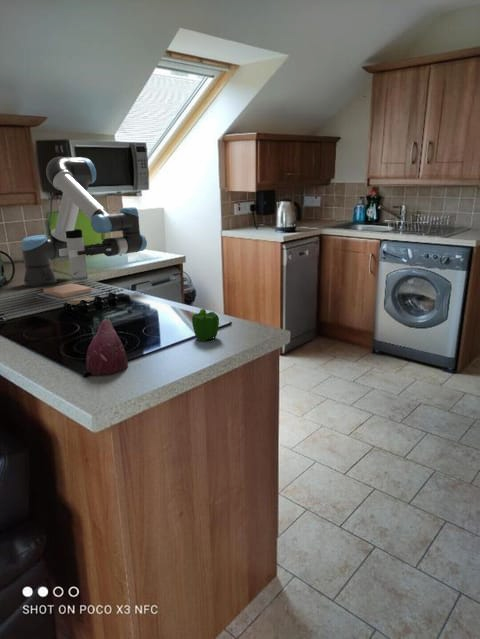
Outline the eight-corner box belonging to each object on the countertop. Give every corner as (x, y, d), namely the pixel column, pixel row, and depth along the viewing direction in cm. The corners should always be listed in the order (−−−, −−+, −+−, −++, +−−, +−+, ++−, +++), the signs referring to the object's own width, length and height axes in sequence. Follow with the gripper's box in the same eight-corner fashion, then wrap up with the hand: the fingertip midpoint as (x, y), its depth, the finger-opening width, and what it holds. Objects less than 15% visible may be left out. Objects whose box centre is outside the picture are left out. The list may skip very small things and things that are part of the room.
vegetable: (102, 371, 128) (98, 317, 128) (135, 370, 125) (131, 315, 125) (78, 377, 118) (73, 318, 118) (112, 376, 115) (108, 315, 115)
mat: (80, 286, 222) (80, 285, 222) (104, 291, 210) (104, 290, 209) (36, 295, 206) (36, 294, 206) (60, 301, 193) (59, 300, 193)
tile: (71, 283, 216) (43, 288, 206) (91, 287, 206) (62, 293, 196) (72, 287, 217) (43, 293, 206) (91, 292, 207) (63, 298, 196)
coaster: (69, 300, 195) (68, 298, 195) (98, 298, 197) (98, 296, 197) (64, 307, 184) (63, 305, 183) (95, 305, 186) (95, 303, 185)
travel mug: (76, 281, 183) (70, 230, 177) (68, 279, 187) (62, 229, 181) (91, 278, 187) (85, 228, 181) (82, 276, 191) (76, 227, 186)
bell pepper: (205, 332, 149) (204, 302, 146) (224, 337, 144) (223, 306, 141) (186, 339, 143) (184, 308, 140) (206, 344, 138) (204, 312, 135)
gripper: (128, 257, 192) (79, 265, 175) (101, 253, 204) (52, 261, 187) (127, 238, 190) (76, 245, 173) (99, 236, 202) (50, 242, 185)
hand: (64, 253), depth 180 cm, fingers closed on travel mug, 6 cm apart
